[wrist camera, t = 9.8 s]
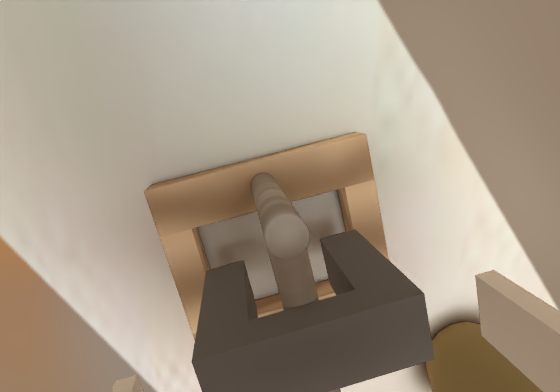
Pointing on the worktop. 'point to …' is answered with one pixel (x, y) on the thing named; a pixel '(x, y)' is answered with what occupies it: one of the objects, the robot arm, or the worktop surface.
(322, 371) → the grey notched block
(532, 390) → the squeeze bottle
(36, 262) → the worktop surface
